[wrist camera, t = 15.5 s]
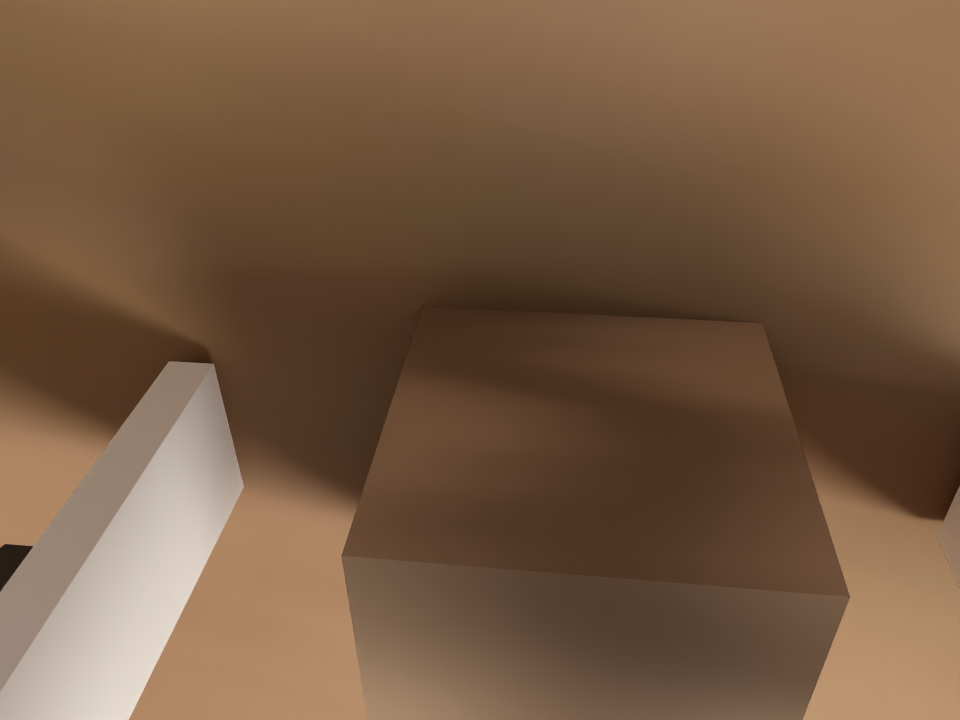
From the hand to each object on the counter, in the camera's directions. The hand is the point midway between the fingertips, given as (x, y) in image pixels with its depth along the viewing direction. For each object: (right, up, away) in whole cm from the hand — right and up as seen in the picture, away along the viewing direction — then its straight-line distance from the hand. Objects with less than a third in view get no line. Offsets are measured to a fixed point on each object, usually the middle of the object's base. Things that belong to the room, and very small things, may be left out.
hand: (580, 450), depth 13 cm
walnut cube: (0, 0, 0) cm, 0 cm away
